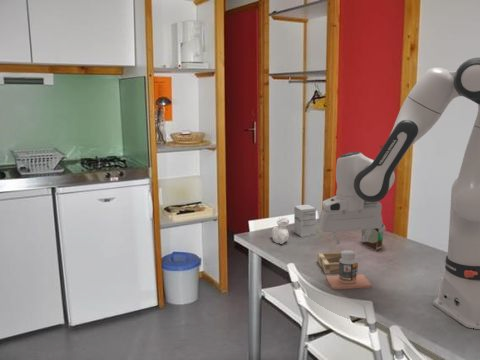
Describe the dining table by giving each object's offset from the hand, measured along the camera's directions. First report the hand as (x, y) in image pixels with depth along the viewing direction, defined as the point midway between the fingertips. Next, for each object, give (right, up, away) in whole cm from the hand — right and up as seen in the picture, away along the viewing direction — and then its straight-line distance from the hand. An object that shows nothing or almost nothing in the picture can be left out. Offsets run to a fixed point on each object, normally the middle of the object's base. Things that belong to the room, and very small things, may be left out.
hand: (351, 242), depth 155 cm
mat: (0, -14, +3) cm, 14 cm away
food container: (+19, -7, +37) cm, 42 cm away
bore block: (-1, -11, +17) cm, 20 cm away
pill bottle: (0, -13, +3) cm, 14 cm away
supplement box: (-8, -4, +55) cm, 55 cm away
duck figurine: (-19, -6, +46) cm, 51 cm away
